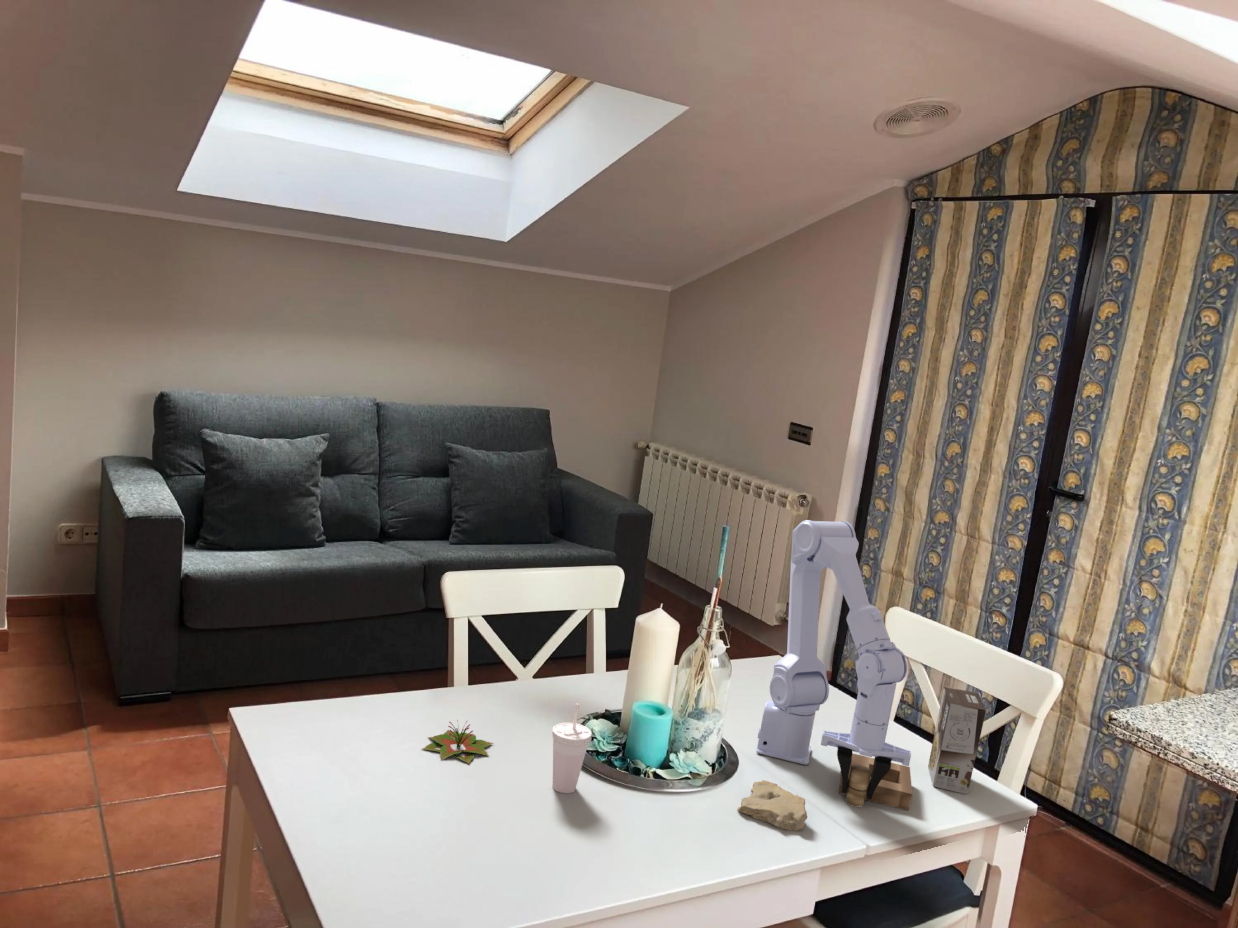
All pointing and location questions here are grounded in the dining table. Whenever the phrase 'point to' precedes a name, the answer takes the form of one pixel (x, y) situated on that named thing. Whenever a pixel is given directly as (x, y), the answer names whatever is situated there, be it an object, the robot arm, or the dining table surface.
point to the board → (887, 783)
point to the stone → (775, 806)
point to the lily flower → (458, 744)
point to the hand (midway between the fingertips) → (856, 793)
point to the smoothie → (569, 753)
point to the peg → (858, 785)
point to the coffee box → (956, 739)
